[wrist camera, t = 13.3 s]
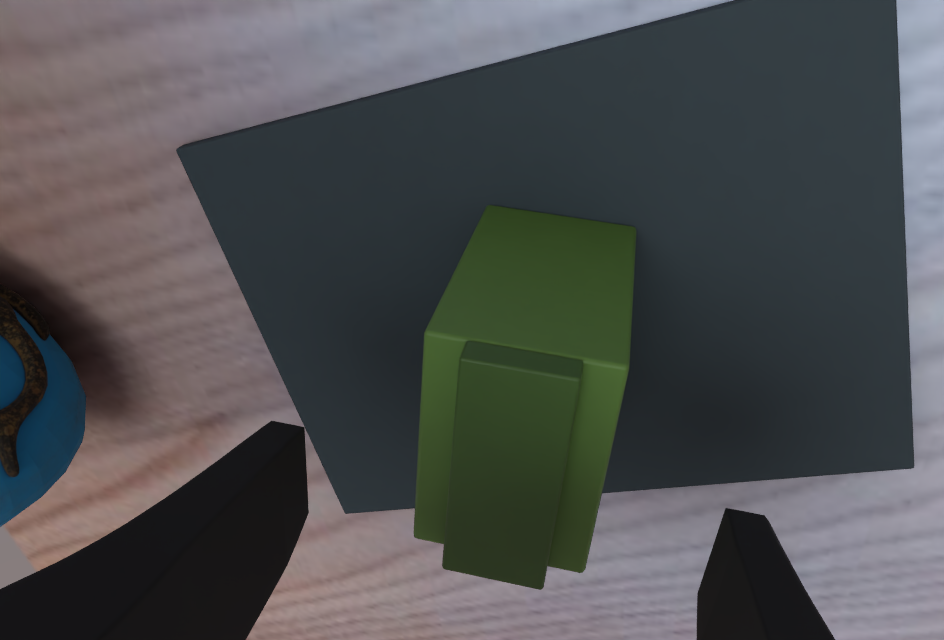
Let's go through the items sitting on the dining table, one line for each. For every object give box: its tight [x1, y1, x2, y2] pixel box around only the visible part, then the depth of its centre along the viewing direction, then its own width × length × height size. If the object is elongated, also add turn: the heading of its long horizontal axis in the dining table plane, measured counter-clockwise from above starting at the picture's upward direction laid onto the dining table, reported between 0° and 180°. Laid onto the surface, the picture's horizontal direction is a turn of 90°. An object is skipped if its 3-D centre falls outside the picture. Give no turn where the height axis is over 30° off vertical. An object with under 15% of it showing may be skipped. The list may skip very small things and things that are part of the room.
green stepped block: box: [414, 205, 636, 590], centre depth 17 cm, size 5×4×6 cm
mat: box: [176, 0, 914, 514], centre depth 20 cm, size 12×16×1 cm
